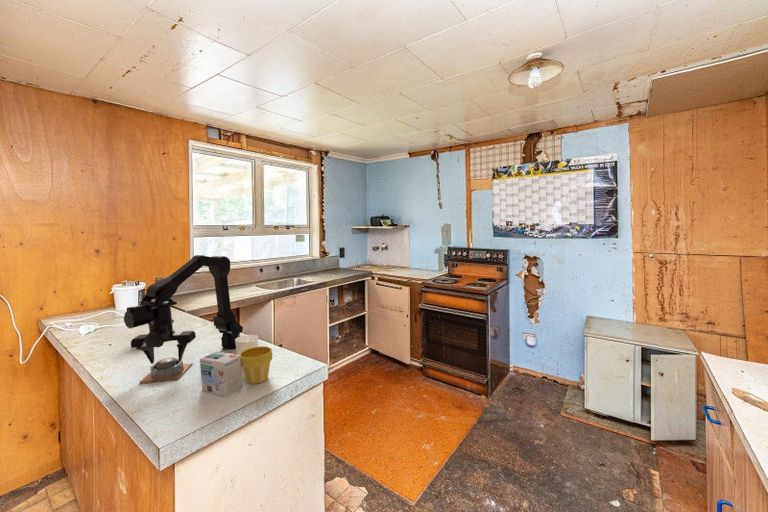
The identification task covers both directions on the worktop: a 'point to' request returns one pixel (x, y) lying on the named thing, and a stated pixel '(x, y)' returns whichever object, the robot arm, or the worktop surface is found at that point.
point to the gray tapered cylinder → (166, 363)
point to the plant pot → (256, 363)
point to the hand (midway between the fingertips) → (166, 362)
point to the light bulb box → (221, 373)
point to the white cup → (246, 342)
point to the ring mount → (166, 372)
